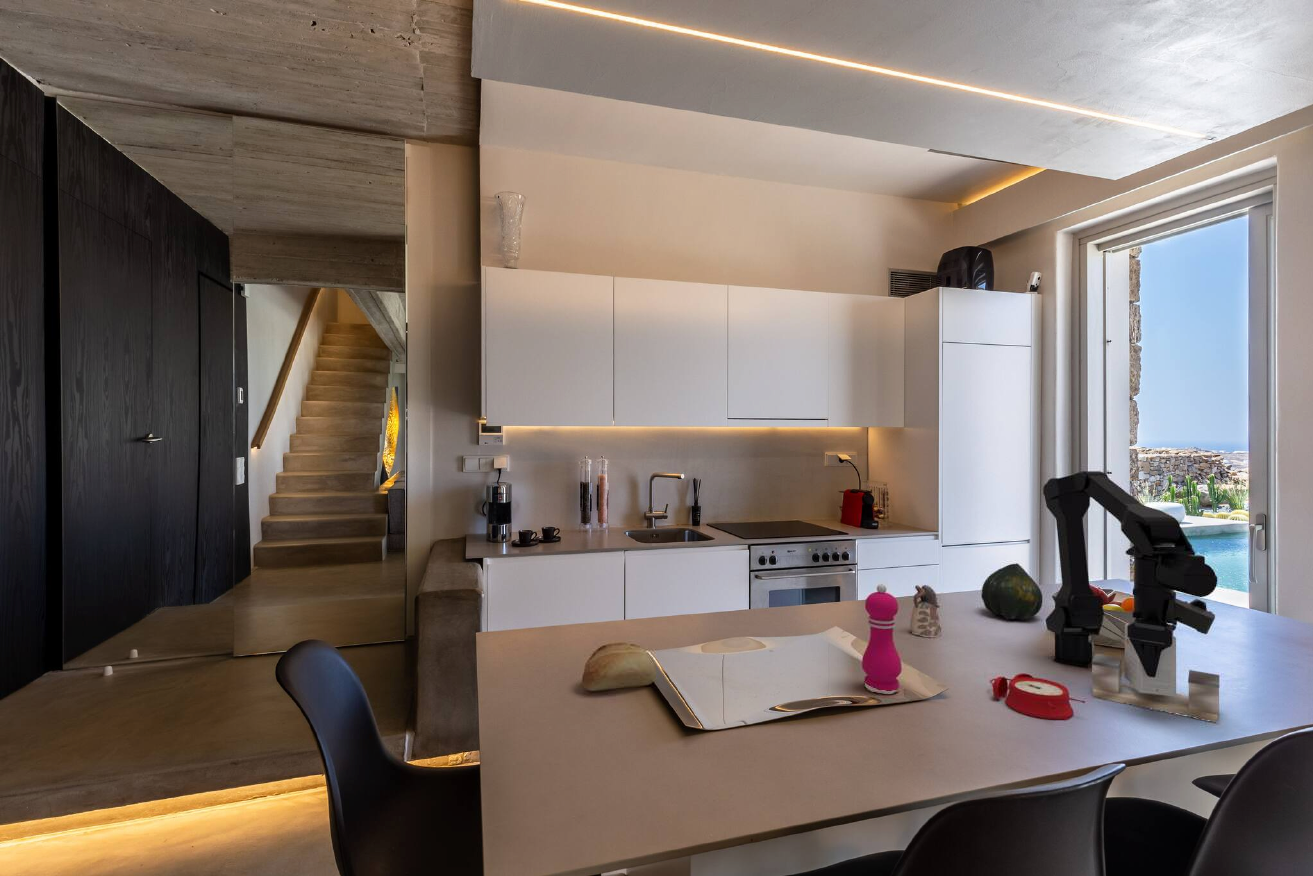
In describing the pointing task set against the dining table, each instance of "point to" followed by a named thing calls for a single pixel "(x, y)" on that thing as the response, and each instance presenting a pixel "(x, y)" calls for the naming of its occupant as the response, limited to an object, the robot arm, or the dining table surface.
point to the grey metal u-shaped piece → (1195, 705)
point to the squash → (1012, 593)
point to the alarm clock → (1034, 696)
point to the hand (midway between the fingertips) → (1153, 669)
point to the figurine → (925, 612)
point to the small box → (1164, 676)
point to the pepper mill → (881, 642)
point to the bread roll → (618, 667)
